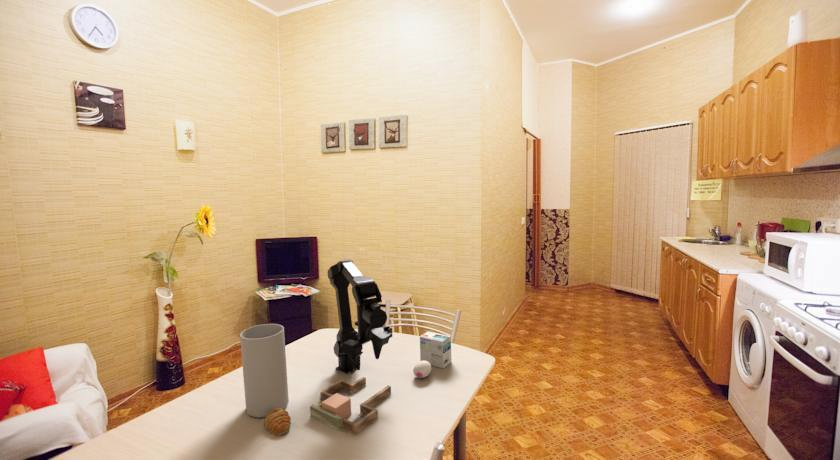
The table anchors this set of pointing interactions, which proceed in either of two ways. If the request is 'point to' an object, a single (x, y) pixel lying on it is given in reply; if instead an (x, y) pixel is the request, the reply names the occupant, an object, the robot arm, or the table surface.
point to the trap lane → (365, 408)
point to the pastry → (278, 421)
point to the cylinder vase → (264, 369)
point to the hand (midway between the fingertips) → (368, 364)
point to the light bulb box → (435, 349)
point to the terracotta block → (338, 405)
